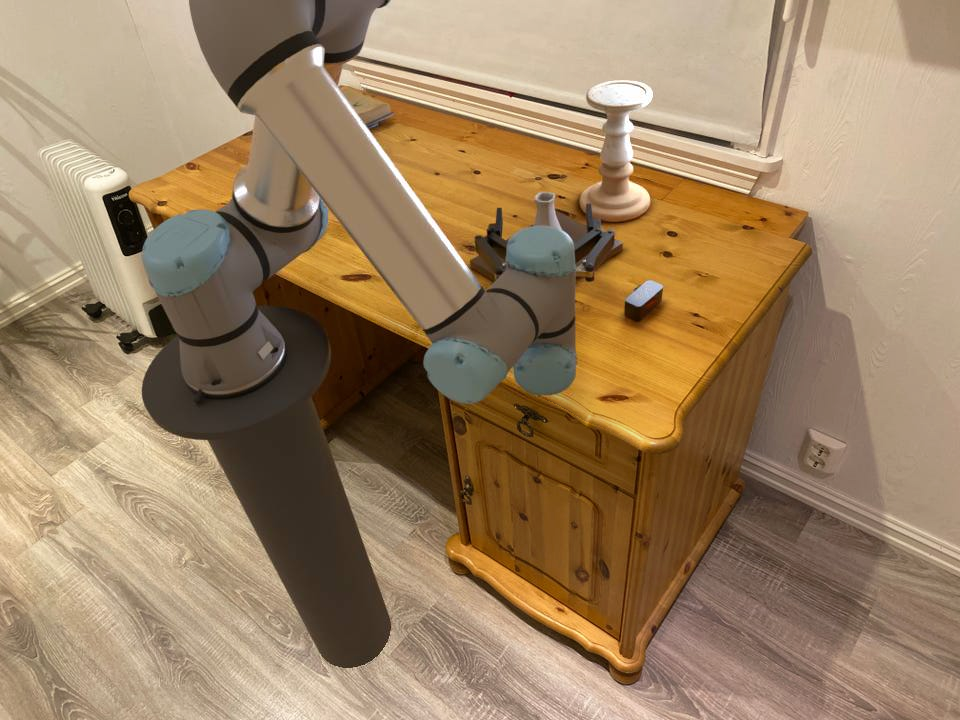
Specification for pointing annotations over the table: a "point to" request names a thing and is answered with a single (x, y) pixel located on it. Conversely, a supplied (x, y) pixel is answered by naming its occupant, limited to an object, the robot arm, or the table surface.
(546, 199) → the flask
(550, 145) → the table surface
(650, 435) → the table surface
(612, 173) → the candle holder
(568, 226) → the walnut board
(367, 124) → the book
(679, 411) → the table surface
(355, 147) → the robot arm
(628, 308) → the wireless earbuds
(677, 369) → the table surface
